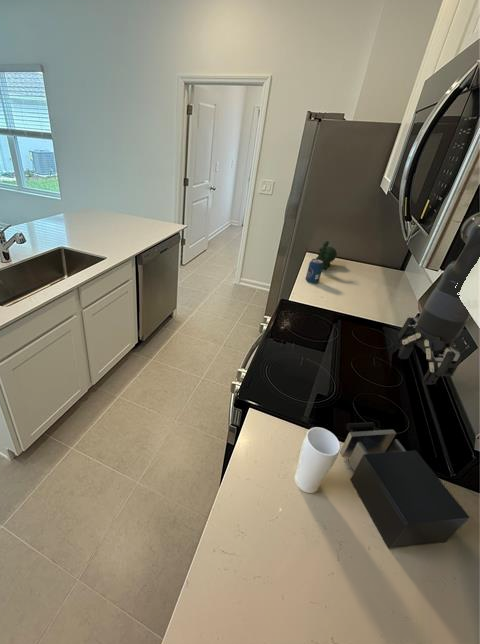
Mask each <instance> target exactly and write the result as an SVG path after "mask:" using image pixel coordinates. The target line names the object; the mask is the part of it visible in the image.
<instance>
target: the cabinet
mask: <svg viewBox="0 0 480 644" xmlns="http://www.w3.org/2000/svg"><path fill="white" fill-rule="evenodd" d="M349 480H350V482H351V484H352V486H353V488H354V490H355V491H356V493H357V495H358V497H359V498H360V501H361V502H362V504H363V507H364V508H365V509H366V511H367V514H368V515H369V517H370V519H371V520H372V522H373V524H374V526H375V528H376V530H377V531H378V533H379V535H380V537H381V539H382V540H383V542H384V544H385V546H386V547H387V550H389V549H398V548H407V547H417V546H425V545H434V544H443V543H447V542H448V541H449V540H450V538H451V537H452V536H453V535H454V534H456V532H457V531H458V530H459V529H460V528H461V527H462V526H463V525H464V524H465V523H466V522H467V521H468V520H469V519H470V516H469V515H468V513H467V512H466V511H465V509H464V508H463V507H462V506H461V504H460V502H458V501H457V499H456V498H455V497H454V495H452V493H451V492H450V491H449V489H447V487H446V486H445V485H444V484H443V482H442V481H441V480H440V479H439V477H438V476H437V474H435V472H434V471H433V470H432V469H431V467H430V466H429V464H427V461H425V460H424V459H423V458H422V456H421V455H420V453H419V452H418V451H417V450H415V449H414V450H406V451H401V452H388V453H387V452H385V453H374V454H363V457H362V458H361V460H360V462H359V464H358V466H357V467H356V469H355V471H354V470H353V473H352V475H351V477H350V478H349Z"/></svg>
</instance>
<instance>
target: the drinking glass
mask: <svg viewBox="0 0 480 644" xmlns="http://www.w3.org/2000/svg"><path fill="white" fill-rule="evenodd" d="M340 451H341V443H340V441H339V439H338V437H337V436H336V435H335V434H334V433H333V432H332V431H330V430H328V429H326V428H324V427H319V426H316V427H315V426H314V427H311V428H310V429H308V430H307V432H306V434H305V436H304V439H303V441H302V444H301V448H300V453H299V456H298V457H299V458H298V461H297V466H296V471H295V473H294V481H295V484H296V486H297V487H298V489H300V491H303V492H304V493H307V494H313V493H315V492H317V491H318V490H319V488H320V486H321V484H322V482H323V481H324V479H325V478H326V476H327V475H328V473H329V472H330V471H331V469H332V468H333V466H334V464H335V462H336V461H337V458H338V456H339V454H340Z"/></svg>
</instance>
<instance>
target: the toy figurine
mask: <svg viewBox="0 0 480 644" xmlns="http://www.w3.org/2000/svg"><path fill="white" fill-rule="evenodd" d="M329 244H330V242H329V240H325V241H324V242H323V243H322V246H321V247H320V248H318V252H317V257H315V259H319V260H322V261H323V269H322V271H326V270H328V268H330V267H331V263H332V262H334V261H335V259H336V258H337V255H338V253H337V250H336V248H335V247H333V246H329Z"/></svg>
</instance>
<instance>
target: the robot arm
mask: <svg viewBox="0 0 480 644" xmlns="http://www.w3.org/2000/svg"><path fill="white" fill-rule="evenodd" d="M459 233H460V238H461V240H462V241H463V242H464V243H465V245H464V247H463V249H462V250H461V252H460V254H459V256H458V257H457V258H456V260H452V261H451V262H449V263H448V265H446V267H445V269H444V271H443V272H442V274H441V276H440V278H439V280H438V282H437V284H436V286H435V287H434V289H433V290H432V292H431V293H430V294H429V296H428V298H427V300H426V302H425V304H424V306H423V308H422V310H421V312H420V314H419V316H418V317H407V318H406V320H405V322H404V324H403V325H402V328H401V329H400V331H399V333H398V338H399V339H401V346H400V349H399V351H398V355H397V358H399V359H400V360H408V359H409V358H410V356H411V354H412V352H413V350H414V346H416V347H418V348H420V349H421V351H422V352H423V353H424V354H425V357H426V361H428V369H427V371H426V372H425V374H424V375H423V378H422V379H421V382H422V384H423V385H435V384H436V382H437V381H438V380H439V378H440V377H453V375H454V374H455V372H456V371H457V369H458V366H459V365H460V363H461V361H462V360H463V358H464V353H463V351H458V350H455V349H454V348H453V347H452V342H453V341H454V340H455V339H457V338H458V337H459V336H460V335H461V333H462V331H463V330H464V328H465V326H466V325H467V323H468V321H469V319H470V318H471V316H472V315H470V314H469V312H468V310H467V309H466V307H465V306H464V305H463V303H462V302H461V300H460V298H459V296H460V295H457V293H458V292H460V290H461V287H462V285H463V283H464V281H465V280H466V277H467V276H468V274H469V273H470V271H471V269H472V268H473V267H474V265H475V264H476V263H477V261H478V259H479V257H480V211H479V212H476V213H474V214H473V215H470V216H469V217H468V218H467V219H465V221H464V222H463V223H462V225H461V227H460V232H459ZM457 283H458V284H457ZM456 285H457V286H456ZM455 286H456V288H455ZM458 294H459V293H458ZM434 355H438V356H437V357H436V356H434ZM436 362H437V363H436Z"/></svg>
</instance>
